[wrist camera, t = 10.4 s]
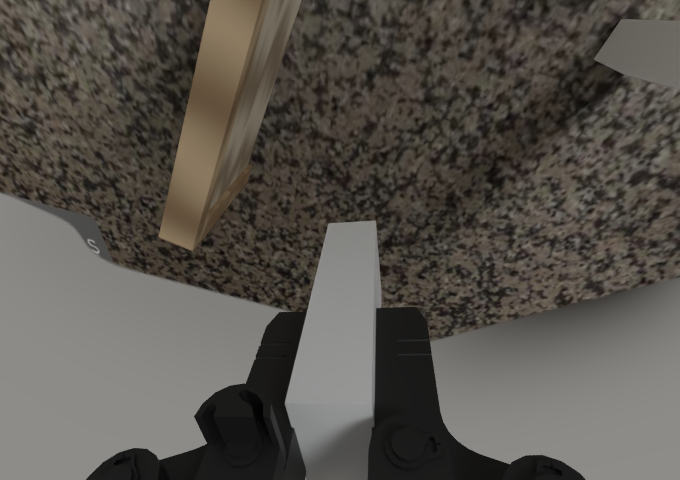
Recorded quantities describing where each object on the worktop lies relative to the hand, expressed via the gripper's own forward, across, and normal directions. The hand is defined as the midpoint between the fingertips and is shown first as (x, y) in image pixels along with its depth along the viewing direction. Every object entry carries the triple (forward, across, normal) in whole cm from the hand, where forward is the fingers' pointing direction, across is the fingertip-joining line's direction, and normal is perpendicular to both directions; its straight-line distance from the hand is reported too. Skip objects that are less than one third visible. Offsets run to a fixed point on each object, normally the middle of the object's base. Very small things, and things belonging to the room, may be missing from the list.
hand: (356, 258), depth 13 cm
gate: (+22, +7, -5) cm, 23 cm away
